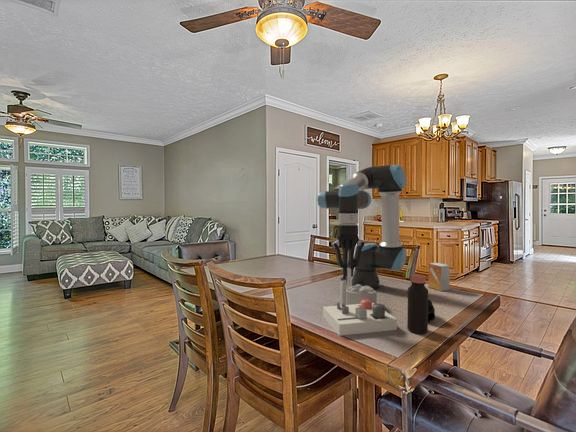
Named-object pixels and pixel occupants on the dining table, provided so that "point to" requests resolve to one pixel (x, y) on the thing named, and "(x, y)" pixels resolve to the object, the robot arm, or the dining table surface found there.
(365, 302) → the button red
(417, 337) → the dining table surface
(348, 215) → the robot arm
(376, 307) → the button black
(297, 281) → the dining table surface
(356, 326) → the panel
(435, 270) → the small box
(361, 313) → the slider knob
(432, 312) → the fried shrimp in bowl
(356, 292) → the lumpy-topped squat cylinder
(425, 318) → the bottle
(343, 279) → the lever
